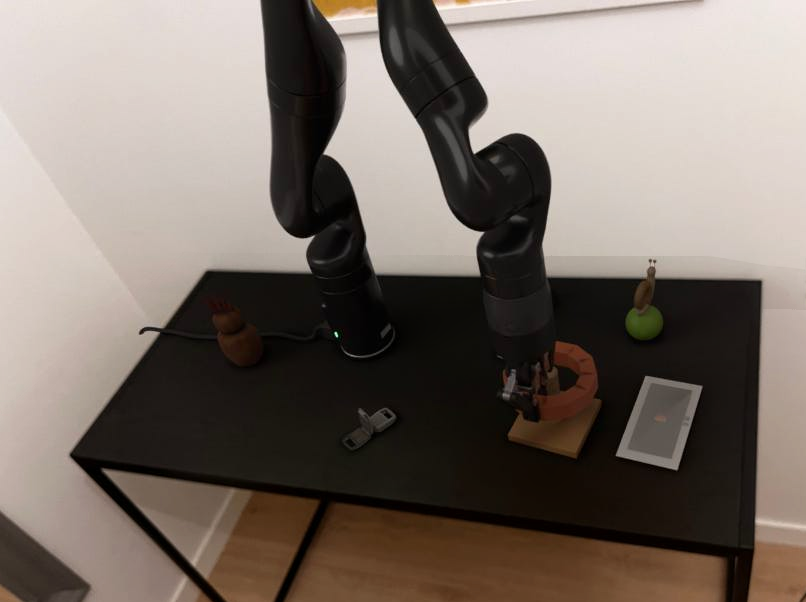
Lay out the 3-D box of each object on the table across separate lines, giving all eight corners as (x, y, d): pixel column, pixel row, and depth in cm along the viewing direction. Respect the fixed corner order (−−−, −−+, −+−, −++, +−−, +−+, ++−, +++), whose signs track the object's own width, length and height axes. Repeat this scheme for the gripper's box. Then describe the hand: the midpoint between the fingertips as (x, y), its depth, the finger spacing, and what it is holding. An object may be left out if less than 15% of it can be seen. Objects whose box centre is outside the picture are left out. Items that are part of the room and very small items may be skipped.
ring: (491, 408, 94) (488, 395, 92) (527, 348, 101) (524, 334, 99) (578, 430, 89) (576, 416, 87) (609, 364, 96) (608, 351, 94)
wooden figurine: (225, 368, 123) (186, 302, 113) (243, 345, 126) (207, 279, 116) (256, 373, 120) (220, 306, 110) (274, 350, 124) (240, 283, 114)
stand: (508, 440, 99) (498, 390, 92) (536, 390, 105) (528, 339, 98) (576, 458, 95) (571, 408, 88) (601, 405, 101) (598, 353, 94)
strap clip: (387, 409, 108) (380, 390, 105) (398, 419, 106) (391, 400, 103) (341, 442, 105) (332, 423, 102) (352, 452, 103) (343, 434, 100)
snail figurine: (670, 324, 110) (671, 261, 101) (655, 351, 106) (655, 288, 98) (636, 316, 112) (635, 255, 104) (620, 342, 109) (618, 281, 101)
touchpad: (615, 460, 93) (615, 450, 92) (645, 381, 102) (645, 370, 101) (677, 475, 90) (677, 465, 88) (702, 391, 99) (703, 380, 97)
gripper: (513, 269, 86) (530, 370, 98) (463, 345, 78) (487, 444, 90) (572, 278, 82) (582, 381, 94) (525, 358, 74) (543, 460, 86)
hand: (536, 412), depth 92 cm, fingers closed on ring, 2 cm apart
